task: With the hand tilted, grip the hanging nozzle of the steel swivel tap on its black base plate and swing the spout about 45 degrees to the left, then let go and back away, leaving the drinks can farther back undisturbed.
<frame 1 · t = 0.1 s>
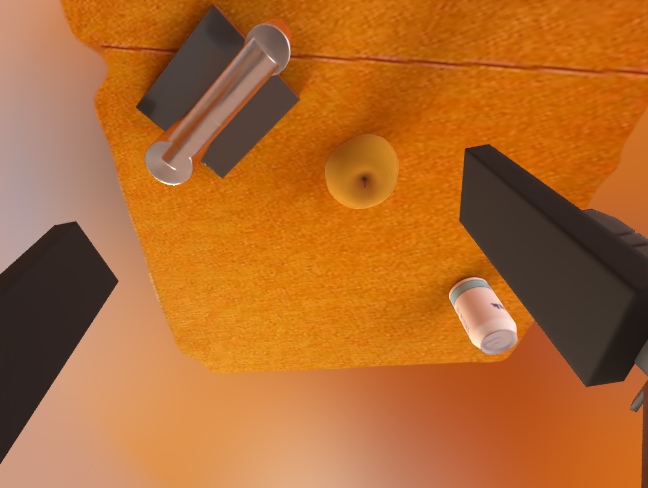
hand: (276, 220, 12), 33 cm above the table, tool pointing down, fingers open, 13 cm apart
apple: (356, 156, 45), on the table
tap base: (221, 99, 39), on the table
spout: (233, 87, 29), point 11 cm above the table, hinge at 0.0°
beverage can: (465, 287, 60), on the table
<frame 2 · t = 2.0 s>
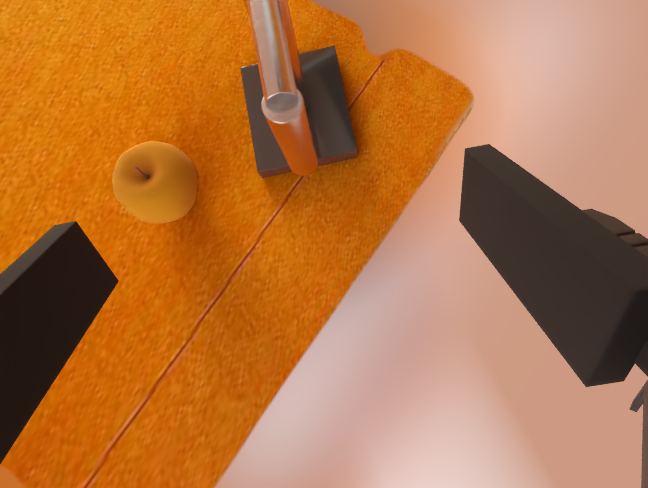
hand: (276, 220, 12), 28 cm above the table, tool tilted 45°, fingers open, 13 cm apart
apple: (181, 197, 42), on the table
tap base: (299, 116, 42), on the table
spout: (290, 100, 30), point 11 cm above the table, hinge at 0.0°
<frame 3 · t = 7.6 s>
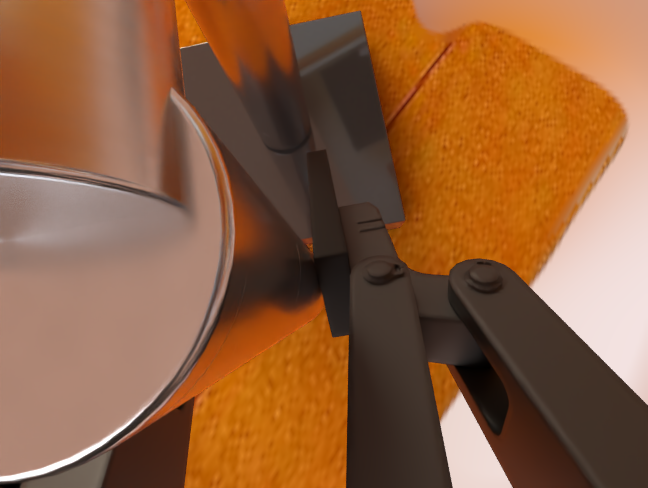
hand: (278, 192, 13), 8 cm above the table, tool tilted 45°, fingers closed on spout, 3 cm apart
tap base: (290, 142, 22), on the table
spout: (253, 124, 11), point 11 cm above the table, hinge at 0.0°, touching gripper
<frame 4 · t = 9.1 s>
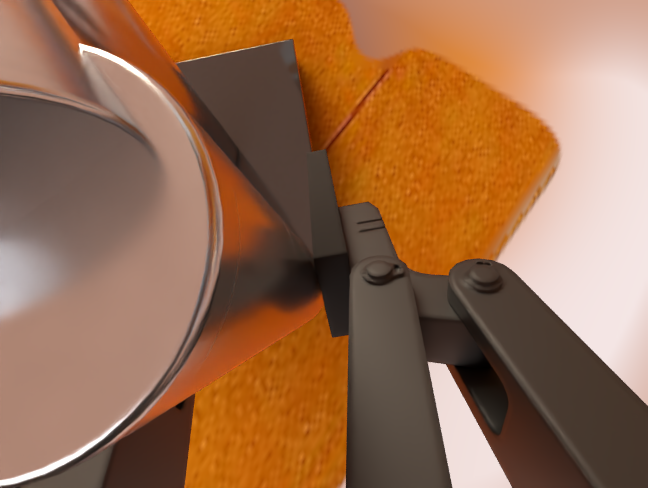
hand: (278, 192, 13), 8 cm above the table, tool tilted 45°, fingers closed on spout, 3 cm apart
tap base: (225, 170, 22), on the table
spout: (181, 154, 11), point 11 cm above the table, hinge at 27.8°, touching gripper
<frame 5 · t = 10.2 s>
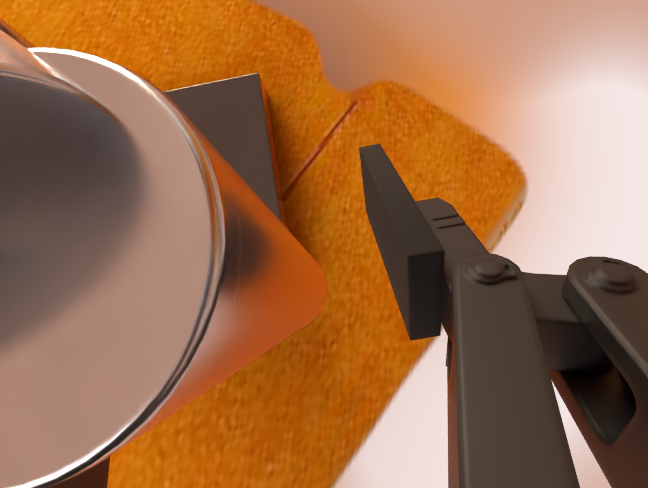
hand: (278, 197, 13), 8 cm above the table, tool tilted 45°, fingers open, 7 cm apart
tap base: (192, 203, 22), on the table
spout: (145, 190, 10), point 11 cm above the table, hinge at 44.5°
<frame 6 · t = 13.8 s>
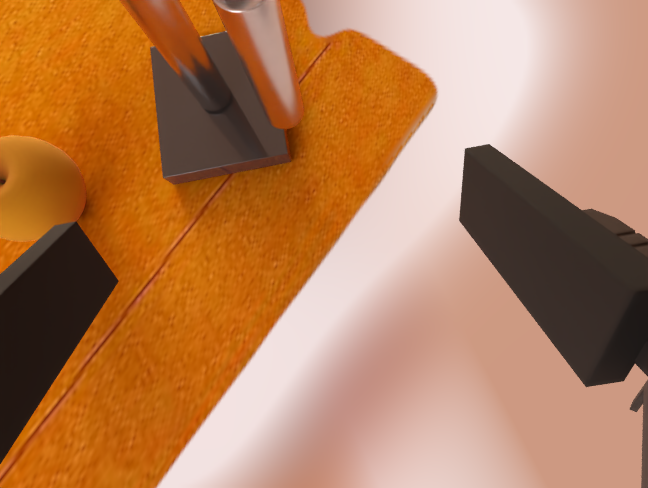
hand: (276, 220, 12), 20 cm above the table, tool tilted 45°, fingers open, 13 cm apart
apple: (74, 206, 34), on the table
tap base: (223, 109, 34), on the table
spout: (218, 54, 22), point 11 cm above the table, hinge at 44.5°
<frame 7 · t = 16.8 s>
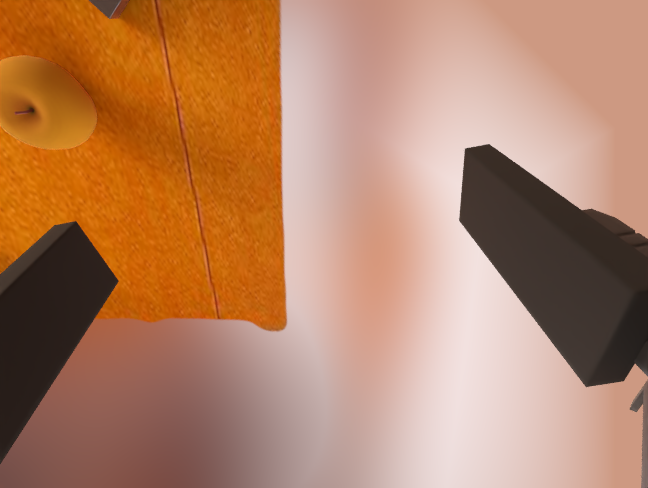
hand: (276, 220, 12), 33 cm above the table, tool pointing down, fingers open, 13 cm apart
apple: (72, 95, 38), on the table
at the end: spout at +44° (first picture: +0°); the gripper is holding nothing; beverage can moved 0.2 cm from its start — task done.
